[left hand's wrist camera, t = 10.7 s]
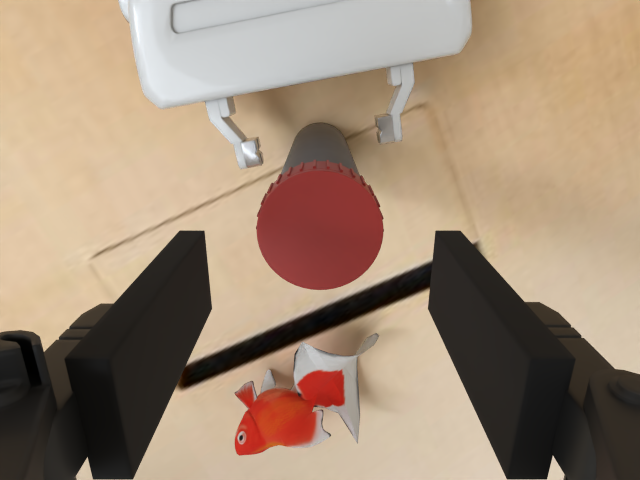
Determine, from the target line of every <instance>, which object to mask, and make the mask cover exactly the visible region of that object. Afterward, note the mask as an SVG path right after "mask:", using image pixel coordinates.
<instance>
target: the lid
mask: <svg viewBox="0 0 640 480" xmlns="http://www.w3.org/2000/svg"><path fill="white" fill-rule="evenodd" d="M267 193H268V194H266V193H265V196H264V198H263V200H262V202H261V208H260V210H259V212H258V214H257V217H258V221H257V226H256V229H257V239H258V244H259V247H260V250H261V253H262V255H263V257H264V259H265V260H266V262H267V263H268V265H269V266H270V267H271V268H272V269H273V270H274V271H275V272H276V273H277V274H278V275H279V276H280V277H282V278H283V279H285V280H286V281H288V282H290V283H292V284H294V285H296V286H300V287H303V288H307V289H314V290H327V289H333V288H337V287H341V286H343V285H346V284H348V283H350V282H352V281H354V280H356V279H357V278H358V277H360V276H361V275H362V274H363V273H364V272H365V271H366V270H368V268H369V267H370V266H371V265H372V263H373V262H374V260H375V259H376V257H377V255H378V253H379V250H380V247H381V244H382V239H383V232H384V229H383V221H382V219H383V216H382V213H381V211H380V209H379V207H380V204H379V202H378V200H377V198H376V196H374V193H373V190H372V188H371V186H370V185H367V184H366V183H365V181H364V178H363V177H362V176H359V175H358V174H356V173H355V172H354V170H353V169H352V168H351V169H349V168H347V167H345V166H342V163H339V164H337V163H332V162H329V160H326V161H316V160H313V162H308V163H304V162H301V164H300V165H298V166H295V167H293V168H292V167H289V170H288V171H287V172H285V173H284V174H283V175H282V174H280V175H279V176H278V179H277V180H276V181H275V183H274V184H273V183H271V185H270V187H269V189H268V192H267Z"/></svg>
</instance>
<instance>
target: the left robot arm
mask: <svg viewBox="0 0 640 480" xmlns="http://www.w3.org/2000/svg"><path fill="white" fill-rule="evenodd" d="M211 310H212V304H211V294H210V284H209V274H208V263H207V253H206V243H205V232H204V231H179V232H178V233H177V234H176V235H175V237H174V238H173V239H172V240H171V241H170V242H169V243H168V244H167V245H166V247H165V248H164V249H163V250H162V251H161V252H160V253H159V254H158V255H157V257H156V258H155V259H154V260H153V261H152V262H151V263H150V264H149V265H148V266H147V268H146V269H145V270H144V271H143V272H142V273H141V274H140V275H139V276H138V278H137V279H136V280H135V281H134V282H133V283H132V284H131V285H130V286H129V287H128V289H127V290H126V291H125V292H124V293H123V294H122V295H121V296H120V297H119V299H118V300H117V301H116V302H115V303H114V304H99V305H98V306H96V307H94V308H92V309H90V310H89V311H87V312H85V313H83V314H82V315H81V316H80V317H79V318H78V319H77V320H76V321H75V322H74V323H73V324H72V325H71V326H70V328H69V329H67V330H66V331H65V332H64V333H63V334H62V335H61V336H60V337H59V340H56V341H55V342H54V343H53V344H52V345H51V346H50V347H49V348H48V349H47V350H46V351H45V352H44V351H43V347H42V344H41V340H40V337H39V336H38V335H36V334H35V333H33V332H29V331H22V330H18V331H6V332H1V333H0V480H77V479H76V475H77V473H78V471H79V470H80V468H81V467H82V465H83V463H84V462H85V460H86V458H87V457H88V460H89V464H90V468H91V473H92V477H93V479H133V478H134V476H135V474H136V472H137V469H138V467H139V465H140V463H141V461H142V459H143V456H144V454H145V452H146V450H147V448H148V446H149V443H150V441H151V439H152V437H153V435H154V433H155V431H156V428H157V426H158V424H159V422H160V420H161V418H162V415H163V413H164V411H165V409H166V407H167V405H168V402H169V400H170V398H171V396H172V394H173V392H174V390H175V387H176V385H177V383H178V381H179V379H180V377H181V374H182V372H183V370H184V368H185V366H186V364H187V361H188V359H189V357H190V355H191V353H192V351H193V349H194V346H195V344H196V342H197V340H198V338H199V336H200V333H201V331H202V329H203V327H204V325H205V323H206V320H207V318H208V316H209V314H210V312H211ZM428 310H429V312H430V314H431V316H432V318H433V320H434V323H435V325H436V327H437V329H438V331H439V333H440V336H441V338H442V340H443V342H444V344H445V346H446V349H447V351H448V353H449V355H450V357H451V359H452V361H453V364H454V366H455V368H456V370H457V372H458V374H459V377H460V379H461V381H462V383H463V385H464V387H465V390H466V392H467V394H468V396H469V398H470V400H471V402H472V405H473V407H474V409H475V411H476V413H477V415H478V418H479V420H480V422H481V424H482V426H483V428H484V431H485V433H486V435H487V437H488V439H489V441H490V443H491V446H492V448H493V450H494V452H495V454H496V456H497V459H498V461H499V463H500V465H501V467H502V469H503V472H504V474H505V476H506V478H507V479H547V477H548V473H549V468H550V464H551V460H552V456H554V458H555V459H556V461H557V462H558V464H559V466H560V467H561V469H562V471H563V472H564V474H565V476H564V479H563V480H640V374H636V373H633V372H629V371H625V370H617V369H614V368H613V367H612V366H611V365H610V364H609V363H608V362H607V361H606V360H605V359H604V358H603V357H602V356H601V355H600V354H599V353H598V352H597V351H596V350H595V349H594V348H593V347H592V346H591V345H590V344H589V343H588V342H587V341H586V340H585V339H584V338H581V335H580V334H579V333H578V332H577V331H576V330H575V329H574V328H571V325H570V324H569V323H568V322H567V321H566V320H565V319H564V318H563V317H562V316H561V315H560V314H559V313H558V312H556V311H554V310H553V309H551V308H549V307H547V306H545V305H544V304H542V303H540V302H524V301H523V300H522V299H521V297H520V296H519V295H518V294H517V293H516V292H515V291H514V290H513V289H512V287H511V286H510V285H509V284H508V283H507V282H506V281H505V280H504V279H503V278H502V276H501V275H500V274H499V273H498V272H497V271H496V270H495V269H494V268H493V266H492V265H491V264H490V263H489V262H488V261H487V260H486V259H485V258H484V257H483V255H482V254H481V253H480V252H479V251H478V250H477V249H476V248H475V247H474V245H473V244H472V243H471V242H470V241H469V240H468V239H467V238H466V237H465V235H464V234H463V233H462V232H461V231H436V232H435V243H434V253H433V263H432V274H431V284H430V294H429V304H428Z"/></svg>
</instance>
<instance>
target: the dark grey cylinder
mask: <svg viewBox="0 0 640 480" xmlns="http://www.w3.org/2000/svg"><path fill="white" fill-rule="evenodd" d="M313 160H316V161H326V160H329V162H332V163H337V164H339V163H342V166H345V167H347V168H349V169H351V168H352V169H353V170H354V172H355V173H356V174H358V175H359V172H358V170H357V167H356V165H355V162H354V160H353V157H352V155H351V152H350V150H349V147H348V145H347V142H346V140H345V138H344V136H343V135H342V133H341V132H340V131H339V130H338V129H337V128H335V127H333V126H332V125H329V124H325V123H315V124H311V125H309V126H306V127H305V128H303V129H302V130H301V131H300V132H299V133H298V135H297V136H296V138H295V140H294V142H293V145H292V147H291V150H290V152H289V155H288V157H287V160H286V162H285V165H284V167H283V170H282V172H281V174H282V175H283V174H284V173H285V172H287V171H288V170H289V167H292V168H293V167H295V166H298V165H300V164H301V162H304V163H308V162H313ZM359 176H360V175H359Z"/></svg>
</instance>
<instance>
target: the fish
mask: <svg viewBox="0 0 640 480" xmlns="http://www.w3.org/2000/svg"><path fill="white" fill-rule="evenodd" d="M378 337H379V335H378V334H377V333H376V334H373V335H371V336H369V337H367V339H366V340H365V341H364V343H363V344H362V345H361V347H360V348H359V349H358V351H357V352H356V354H355V355H354V356H341V355H336V354H331V353H327V352H324V351H322V350H319V349H316V348H314V347H312V346H310V345H308V344H306V343H304V342H302V343H301V345H300V347H299V348H298V350H297V351H296V353H295V357H294V381H295V383H294V385H293V387H292V388H291V390H289V389H286V388H274V387H275V385H276V382H275V379H274V377H273V375H272V373H271V370H267V372H266V375H265V378H264V381H263V384H262V387H261V394H260V395H258V396H257V395H256V392H255V388H254V383H253V381H250V382H248V383H246V384H244V385H243V386H242V387H241V388H240V389H239V390H238V391H237V392H235V395H236V396H237V397H238V398H239V399H240V400H241V401H242V402H243V403H244V404H245V406H246V407H247V408H248V411H246V412H245V414H244V416H243V418H242V420H241V422H240V425H239V427H238V429H237V432H236V436H235V449H236V452H237V454H238V455H251V454H257V453H261V452H263V451H265V450H266V449H268V448H270V447H273V446H277V445H283V446H287V447H294V448H304V447H312V446H314V445H316V444H319V443H321V442H322V441H324V440H326V439H327V438H329V437H330V436H331V434H330V433H328V432H326V431H325V430H324V429H323V427H322V420H323V410H318V411H315V412H312V410H313V407H325V408H327V409H329V410H331V411H334V412H337V413H339V415H340V416H341V418H342V419H343V421H344V422H345V424H346V425H347V427H348V429H349V430H350V432H351V433H352V435H353V437H354V438H355V440H356V442H357V444H358V434H359V422H360V406H359V389H358V374H357V357H358V356H359V355H361V354H362V353H363V352H365V351H366V350H368V349H369V348H370V347H372V346H373V345H374V344H375V342H376V341H377V339H378Z"/></svg>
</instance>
